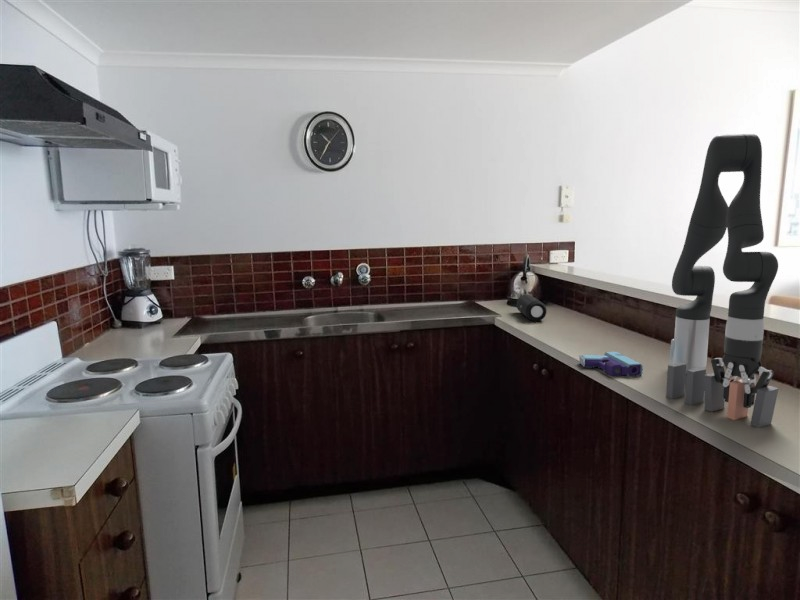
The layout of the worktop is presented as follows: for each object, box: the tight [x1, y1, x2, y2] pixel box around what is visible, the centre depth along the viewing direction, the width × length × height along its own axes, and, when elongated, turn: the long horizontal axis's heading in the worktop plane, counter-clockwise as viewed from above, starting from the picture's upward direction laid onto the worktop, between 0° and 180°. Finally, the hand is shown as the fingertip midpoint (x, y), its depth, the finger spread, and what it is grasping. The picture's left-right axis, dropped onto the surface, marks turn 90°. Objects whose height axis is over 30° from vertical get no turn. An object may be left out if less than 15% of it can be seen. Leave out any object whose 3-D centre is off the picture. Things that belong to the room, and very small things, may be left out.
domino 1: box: [665, 362, 687, 400], centre depth 139 cm, size 2×5×9 cm, turn 116°
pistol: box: [579, 350, 644, 377], centre depth 164 cm, size 4×16×15 cm
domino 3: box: [704, 372, 725, 412], centre depth 129 cm, size 2×5×9 cm, turn 116°
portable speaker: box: [515, 293, 548, 322], centre depth 250 cm, size 26×10×10 cm, turn 0°
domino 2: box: [684, 367, 707, 406], centre depth 134 cm, size 2×5×9 cm, turn 116°
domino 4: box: [726, 378, 749, 421], centre depth 124 cm, size 2×5×9 cm, turn 116°
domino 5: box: [750, 385, 780, 429], centre depth 119 cm, size 2×5×9 cm, turn 116°
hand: (737, 404), depth 124 cm, fingers open, 4 cm apart
